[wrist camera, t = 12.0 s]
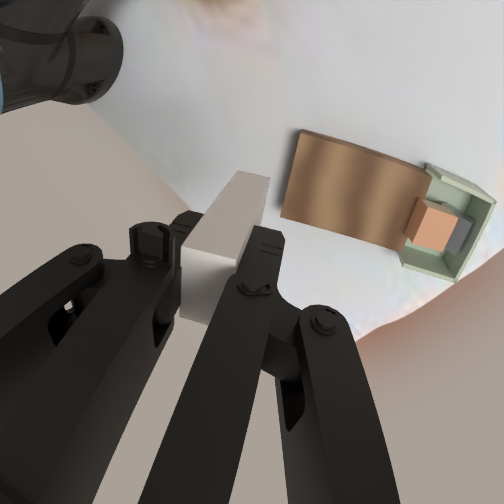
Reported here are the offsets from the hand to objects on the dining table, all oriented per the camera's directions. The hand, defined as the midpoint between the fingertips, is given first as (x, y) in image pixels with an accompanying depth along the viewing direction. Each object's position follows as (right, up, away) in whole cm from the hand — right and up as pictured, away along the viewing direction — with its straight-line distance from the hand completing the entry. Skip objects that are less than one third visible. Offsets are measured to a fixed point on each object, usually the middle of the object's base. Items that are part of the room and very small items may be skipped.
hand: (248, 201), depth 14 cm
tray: (+27, +3, +23) cm, 35 cm away
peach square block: (+23, +2, +20) cm, 30 cm away
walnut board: (+14, +6, +24) cm, 29 cm away
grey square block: (+26, +1, +19) cm, 32 cm away
